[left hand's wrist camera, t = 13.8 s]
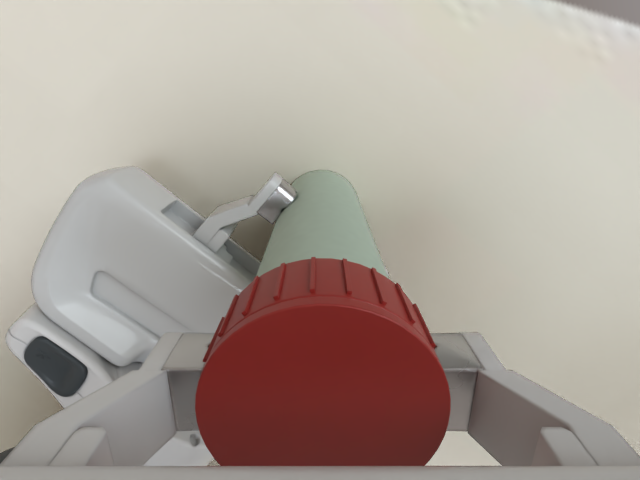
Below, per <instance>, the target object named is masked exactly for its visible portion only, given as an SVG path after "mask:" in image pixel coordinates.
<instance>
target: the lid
mask: <svg viewBox="0 0 640 480" xmlns="http://www.w3.org/2000/svg"><path fill="white" fill-rule="evenodd" d="M435 346H436V345H435V343H434V341H433V339H432V336H431V334H430V332H429V330H428V328H427V326H426V324H425V322H424V320H423V318H422V315H421V313H420V311H419V309H418V307H417V305H416V304H412V303H411V301H410V300H409V299H408V297H407V296H406V295H405V293H404V292H403V291H402V289H401V287H400V285H399V284H398V283H396V284H395V283H393V282H392V281H391V280H389V279H388V278H387V277H385V276H384V275H382V274H380V273H378V272H377V271H376V269H375V268H373V267H372V269H371V268H368V267H366V266H363V265H361V264H358V263H354V262H350V261H347V259H344V258H343V259H342V260H339V259H332V258H316V257H311V259H305V260H299V261H295V262H291V263H287V264H285V263H282V264H281V265H280V266H279V267H276V268H274V269H272V270H270V271H268V272H266V273H264V274H263V275H261V276H260V277H258V276H256V277H254V280H253V282H251V283H250V284H249V285H248V286H247V287H246V288H245V289H244V290H243V291H242V292H241V293H240V294H239V296H238V295H237V294H236V295H235V296H234V298H233V300H232V302H231V305H230V307H229V309H228V312H227V314H226V316H225V317H222V318H221V321H220V323H219V325H218V327H217V330H216V332H215V334H214V336H213V338H212V341H211V343H210V345H209V347H208V350H207V352H206V354H205V356H204V358H203V362H205V366H204V368H203V370H202V373H201V375H200V378H199V380H198V385H197V389H196V394H195V413H196V421H197V425H198V428H199V431H200V435H201V437H202V439H203V441H204V443H205V445H206V447H207V449H208V450H209V452H210V453H211V455H212V456H213V458H214V459H215V460H216V461H217V462H218V463H219V464H220V466H425V465H426V463H427V462H428V461H429V460H430V459H431V458H432V456H433V455H434V453H435V452H436V451H437V449H438V448H439V446H440V444H441V442H442V440H443V438H444V436H445V433H446V430H447V427H448V423H449V417H450V411H451V397H450V391H449V385H448V381H447V378H446V376H445V373H444V370H443V368H442V366H441V363H440V361H439V359H438V357H437V355H436V353H435Z"/></svg>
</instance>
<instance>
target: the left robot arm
mask: <svg viewBox="0 0 640 480" xmlns="http://www.w3.org/2000/svg"><path fill="white" fill-rule="evenodd" d="M214 334H215V333H189V332H185V333H184V332H167V333H164V334H163V335H162V336H161V338H160V339H159V341H158V342H157V344H156V345H155V347H154V348H153V350H152V351H151V353H150V354H149V355H148V357H147V358H146V360H145V361H144V363H143V364H142V366H141V367H140V369H139V370H132V371H130V372H129V373H127V374H125V375H123V376H122V377H120V378H118V379H116V380H114V381H113V382H111V383H109V384H107V385H105V386H104V387H102V388H100V389H98V390H97V391H95V392H93V393H91V394H89V395H88V396H86V397H84V398H82V399H80V400H79V401H77V402H75V403H73V404H72V405H70V406H68V407H66V408H64V409H63V410H61V411H59V412H57V413H55V414H54V415H52V416H50V417H48V418H47V419H45V420H43V421H41V422H39V423H38V424H36V425H34V426H33V427H32V429H31V430H30V431H29V432H28V433H27V434H26V435H25V436H24V438H23V439H22V440H21V441H20V442H19V443H18V444H17V446H16V447H15V448H14V449H13V450H12V451H11V452H10V453H9V455H8V456H7V457H6V458H5V459H4V460H3V461H2V462H1V464H0V480H640V456H639V455H638V454H637V453H636V452H635V451H634V450H633V448H632V447H631V446H630V445H629V444H628V443H627V442H626V441H625V439H624V438H623V437H622V436H621V435H620V434H619V433H618V432H617V431H616V429H615V428H614V427H613V426H612V425H610V424H608V423H606V422H604V421H603V420H601V419H599V418H597V417H595V416H594V415H592V414H590V413H588V412H586V411H585V410H583V409H581V408H579V407H577V406H576V405H574V404H572V403H570V402H568V401H567V400H565V399H563V398H561V397H559V396H558V395H556V394H554V393H552V392H550V391H549V390H547V389H545V388H543V387H541V386H540V385H538V384H536V383H534V382H532V381H531V380H529V379H527V378H525V377H523V376H522V375H520V374H518V373H516V372H514V371H513V370H506V369H505V368H504V366H503V365H502V363H501V362H500V361H499V359H498V358H497V356H496V355H495V353H494V352H493V351H492V349H491V348H490V346H489V345H488V344H487V342H486V341H485V339H484V338H483V336H482V335H481V334H480V333H478V332H465V333H433V334H431V336H432V339H433V341H434V343H435V345H436V346H435V353H436V355H437V357H438V359H439V361H440V363H441V366H442V368H443V370H444V373H445V376H446V378H447V381H448V385H449V391H450V397H451V411H450V417H449V423H448V427H447V430H446V431H468V434H469V435H470V436H471V437H473V438H474V439H475V440H476V441H477V442H478V443H479V444H480V445H481V446H482V447H483V448H484V449H485V450H486V451H487V452H488V453H489V454H490V455H492V456H493V457H494V458H495V459H496V460H497V461H498V462H499V463H500V464H501V465H502V466H143V465H144V464H145V463H146V462H147V461H148V460H149V459H150V458H151V457H152V456H153V455H154V454H155V453H157V452H158V451H159V450H160V449H161V448H162V447H163V446H164V445H165V444H166V443H167V442H168V441H169V440H170V439H171V438H172V437H173V436H174V435H175V434H176V433H177V432H176V431H199V428H198V425H197V421H196V413H195V394H196V389H197V385H198V380H199V378H200V375H201V373H202V370H203V368H204V366H205V362H203V358H204V356H205V354H206V352H207V350H208V347H209V345H210V343H211V341H212V338H213V336H214Z"/></svg>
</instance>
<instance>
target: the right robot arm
mask: <svg viewBox="0 0 640 480" xmlns="http://www.w3.org/2000/svg"><path fill="white" fill-rule="evenodd" d="M296 193H297V190H296V189H294V188H293V187H292V186H291V185H290V184H289V183H288V182H287V181H285V180H284V179H283V178H282V177H281V176H280V175H279V174H277V173H276V172H275V173H274V174H273V175H272V176H271V177H270V178H269V180H268V181H267V182H266V183H265V184H264V186H263V187H262V188H261V189H260V190H259V191H258V193H257V194H256V195H255V196H253V195H251V196H248V197H245V198H242V199H239V200H236V201H233V202H230V203H227V204H224V205H221V206H218V207H217V208H216V209H215V210H214V211H213V212H212V213H211V214H210V215H209V216H208V217H207V218H206V219H205V218H204V217H202V216H201V215H200V214H199V213H197V212H196V211H195V210H193V209H192V208H191V207H190V206H188V205H187V204H186V203H184V202H183V201H182V200H181V199H179V198H178V197H177V196H175V195H174V194H173V193H172V192H170V191H169V190H168V189H166V188H165V187H164V186H163V185H161V184H160V183H159V182H157V181H156V180H155V179H154V178H152V177H151V176H150V175H149V174H147V173H146V172H145V171H143V170H142V169H140V168H139V167H136V166H126V167H118V168H113V169H108V170H104V171H101V172H98V173H96V174H94V175H92V176H90V177H88V178H86V179H85V180H83V181H82V182H81V183H80V184H79V185H78V186H77V187H76V188H75V190H74V191H73V193H72V194H71V195H70V197H69V198H68V200H67V201H66V203H65V205H64V206H63V208H62V209H61V211H60V213H59V215H58V216H57V218H56V220H55V222H54V224H53V225H52V227H51V229H50V231H49V233H48V235H47V237H46V239H45V241H44V243H43V246H42V248H41V250H40V252H39V255H38V257H37V259H36V262H35V265H34V268H33V272H32V278H31V287H32V293H33V296H34V299H35V301H36V302H35V303H34V304H33V305H32V306H31V307H30V308H28V309H27V310H26V311H25V312H24V313H23V314H22V315H21V316H20V317H19V318H18V319H17V320H16V321H15V322H14V323H13V324H12V326H11V327H10V328H9V330H8V332H7V334H6V344H7V346H8V348H9V349H10V350H11V352H12V353H13V354H14V355H15V356H16V357H17V358H18V359H19V360H20V361H21V362H22V363H23V364H24V365H25V366H26V367H27V368H28V369H29V370H30V371H31V372H32V373H33V374H34V375H35V376H36V377H37V378H38V379H39V380H40V381H41V382H42V383H43V384H44V385H45V387H46V388H47V389H48V390H49V391H50V392H51V393H52V394H53V396H54V397H55V398H56V399H57V400H58V402H59V403H60V404H61V406H62V407H63V408H66V407H68V406H70V405H72V404H73V403H75V402H77V401H79V400H80V399H82V398H84V397H86V396H88V395H89V394H91V393H93V392H95V391H97V390H98V389H100V388H102V387H104V386H105V385H107V384H109V383H111V382H113V381H114V380H116V379H118V378H120V377H122V376H123V375H125V374H127V373H129V372H130V371H132V370H139V369H140V367H141V366H142V364H143V363H144V361H145V360H146V358H147V357H148V355H149V354H150V353H151V351H152V350H153V348H154V347H155V345H156V344H157V342H158V341H159V339H160V338H161V336H162V335H163V334H164V333H167V332H184V333H185V332H189V333H215V332H216V330H217V327H218V325H219V323H220V321H221V318H222V317H225V316H226V314H227V312H228V309H229V307H230V305H231V302H232V300H233V298H234V296H235V295H236V294H237V295H238V296H239V294H240V293H241V292H242V291H243V290H244V289H245V288H246V287H247V286H248V285H249V284H250V283H251V282H253V280H254V277H256V275H257V272H258V270H259V267H260V264H261V262H260V261H259V260H258V259H256V258H255V257H254V256H253V255H251V254H250V253H249V252H247V251H246V250H245V249H244V248H242V247H241V246H240V245H238V244H237V243H236V242H235V241H233V240H232V239H231V238H229V237H230V235H231V234H232V232H233V231H234V229H235V228H236V226H237V222H239V221H241V220H244V219H247V218H250V217H253V216H256V215H258V214H260V215H261V216H262V217H263V218H265V219H266V220H267V221H269V222H270V223H271V224H273V223H274V222H275V221H276V220H277V218H278V217H279V216H280V214H281V212H282V210H283V209H284V208H287V207H288V206H289V205H290V204H291V202H292V201H293V200H294V199H295V197H296V195H297V194H296ZM384 267H385V270H386V272H387V275H389V274H388V271H387V269H386V266H385V265H384ZM176 432H177V433H176V434H175V435H174V436H173V437H172V438H171V439H170V440H169V441H168V442H167V443H166V444H165V445H164V446H163V447H162V448H161V449H160V450H159V451H158V452H157V453H155V454H154V455H153V456H152V457H151V458H150V459H149V460H148V461H147V462H146V463H145V464H144V465H143V466H207V465H208V464H209V463H210V462H211V461H212V460H213V459H214V458H213V456H212V455H211V453H210V452H209V450H208V449H207V447H206V445H205V443H204V441H203V439H202V437H201V435H200V431H176ZM14 448H15V447H14ZM14 448H11V449H9V450H6V451H4V452H1V453H0V464H1V462H2V461H3V460H4V459H5V458H6V457H7V456H8V455H9V453H10V452H11V451H12V450H13V449H14Z"/></svg>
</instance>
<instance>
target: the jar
mask: <svg viewBox="0 0 640 480" xmlns="http://www.w3.org/2000/svg"><path fill="white" fill-rule="evenodd" d="M291 186H292V187H293V188H294V189H296V190H297V193H296V194H297V195H296V197H295V199H294V200H293V201H292V202H291V204H290V205H289V206H288V207H287V208H284V209H283V210H282V212H281V214H280V216H279V217H278V218H277V220H276V223H275V226H274V229H273V231H272V234H271V237H270V240H269V242H268V245H267V248H266V250H265V253H264V256H263V259H262V261H261V264H260V267H259V270H258V272H257V275H256V276H258V277H260V276H261V275H263V274H264V273H266V272H268V271H270V270H272V269H274V268H276V267H279V266H280V265H281V264H282V263H285V264H287V263H291V262H295V261H299V260H305V259H311V257H316V258H332V259H339V260H342V259H343V258H344V259H347V261H350V262H354V263H358V264H361V265H363V266H366V267H368V268H371V269H372V267H373V268H375V269H376V271H377V272H378V273H380V274H382V275H384V276H385V277H387V278H388V279H389V277H388V275H387V272H386V270H385V267H384V264H383V262H382V259H381V257H380V254H379V251H378V249H377V246H376V244H375V241H374V238H373V236H372V233H371V230H370V228H369V225H368V223H367V220H366V217H365V215H364V212H363V210H362V207H361V204H360V202H359V199H358V197H357V194H356V192H355V190H354V188H353V186H352V185H351V184H350V183H349V181H348V180H346V179H345V178H344V177H343V176H341V175H339V174H337V173H335V172H332V171H327V170H316V171H311V172H308V173H306V174H304V175H302V176H300V177H299V178H297V179H296V180H295V181H294V182H293V183H292V185H291Z"/></svg>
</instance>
